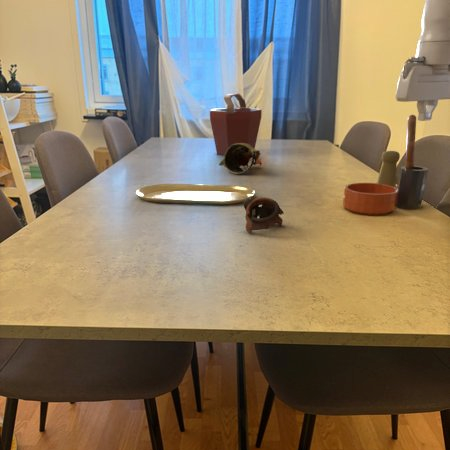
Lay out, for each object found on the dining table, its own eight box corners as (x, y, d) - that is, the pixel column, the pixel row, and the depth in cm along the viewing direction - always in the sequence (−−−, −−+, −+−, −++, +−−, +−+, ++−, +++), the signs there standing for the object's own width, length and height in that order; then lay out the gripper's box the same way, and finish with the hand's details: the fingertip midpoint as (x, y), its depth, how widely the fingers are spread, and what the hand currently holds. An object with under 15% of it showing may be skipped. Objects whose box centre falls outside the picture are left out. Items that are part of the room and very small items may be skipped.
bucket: (240, 159, 184) (240, 94, 172) (198, 155, 195) (196, 94, 183) (267, 151, 202) (269, 92, 191) (227, 148, 213) (227, 92, 201)
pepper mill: (377, 189, 135) (382, 152, 130) (374, 184, 140) (379, 149, 135) (397, 189, 134) (404, 152, 129) (393, 185, 139) (400, 149, 134)
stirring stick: (410, 200, 118) (414, 114, 109) (413, 202, 116) (417, 114, 107) (402, 201, 118) (406, 115, 109) (405, 203, 116) (409, 115, 107)
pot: (275, 143, 162) (255, 132, 146) (279, 173, 163) (259, 165, 147) (234, 156, 171) (212, 146, 155) (238, 184, 171) (216, 177, 155)
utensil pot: (414, 202, 121) (421, 165, 116) (424, 209, 115) (433, 170, 110) (390, 202, 121) (396, 165, 116) (399, 209, 115) (406, 170, 110)
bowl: (385, 202, 121) (388, 182, 118) (402, 216, 109) (406, 194, 106) (337, 202, 121) (339, 182, 118) (349, 216, 109) (352, 194, 106)
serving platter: (147, 188, 138) (147, 183, 137) (256, 191, 133) (257, 185, 133) (127, 203, 121) (127, 197, 121) (251, 207, 117) (251, 201, 116)
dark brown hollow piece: (293, 230, 101) (291, 204, 94) (264, 254, 99) (260, 230, 92) (258, 207, 107) (254, 181, 100) (230, 229, 105) (224, 205, 98)
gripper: (417, 56, 94) (406, 124, 101) (474, 56, 103) (460, 118, 110) (394, 57, 99) (385, 122, 105) (450, 57, 108) (438, 117, 115)
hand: (424, 120), depth 108 cm, fingers closed
